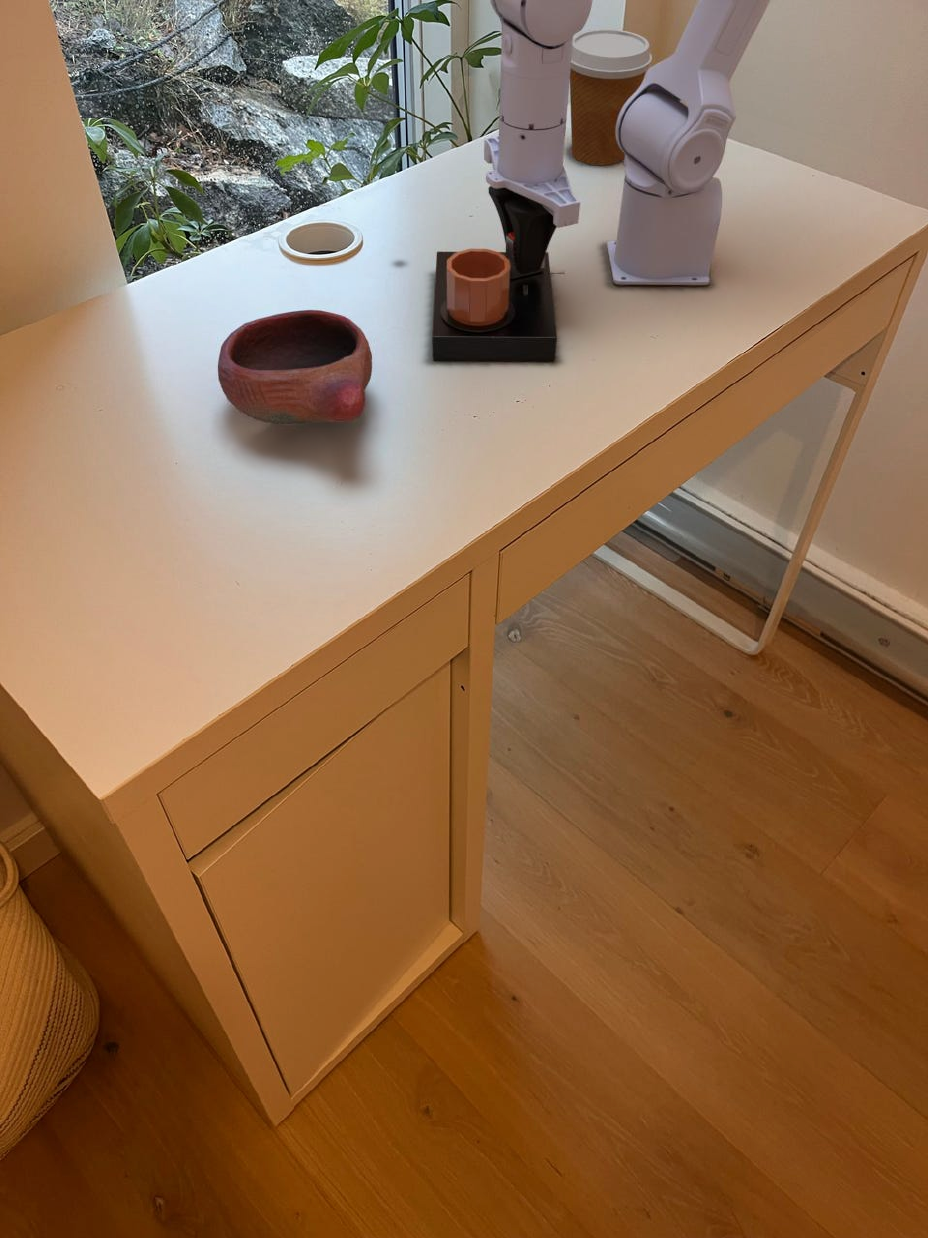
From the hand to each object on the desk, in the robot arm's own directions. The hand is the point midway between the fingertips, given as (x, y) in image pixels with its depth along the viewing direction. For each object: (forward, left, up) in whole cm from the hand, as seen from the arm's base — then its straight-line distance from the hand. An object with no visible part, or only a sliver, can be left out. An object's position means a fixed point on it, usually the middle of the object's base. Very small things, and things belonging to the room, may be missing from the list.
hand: (524, 265), depth 93 cm
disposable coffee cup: (-10, -32, -3) cm, 34 cm away
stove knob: (0, 0, -1) cm, 1 cm away
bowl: (+18, +19, -3) cm, 26 cm away
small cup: (+4, +7, 0) cm, 8 cm away
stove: (+3, +4, -3) cm, 6 cm away
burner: (+4, +7, -1) cm, 8 cm away
